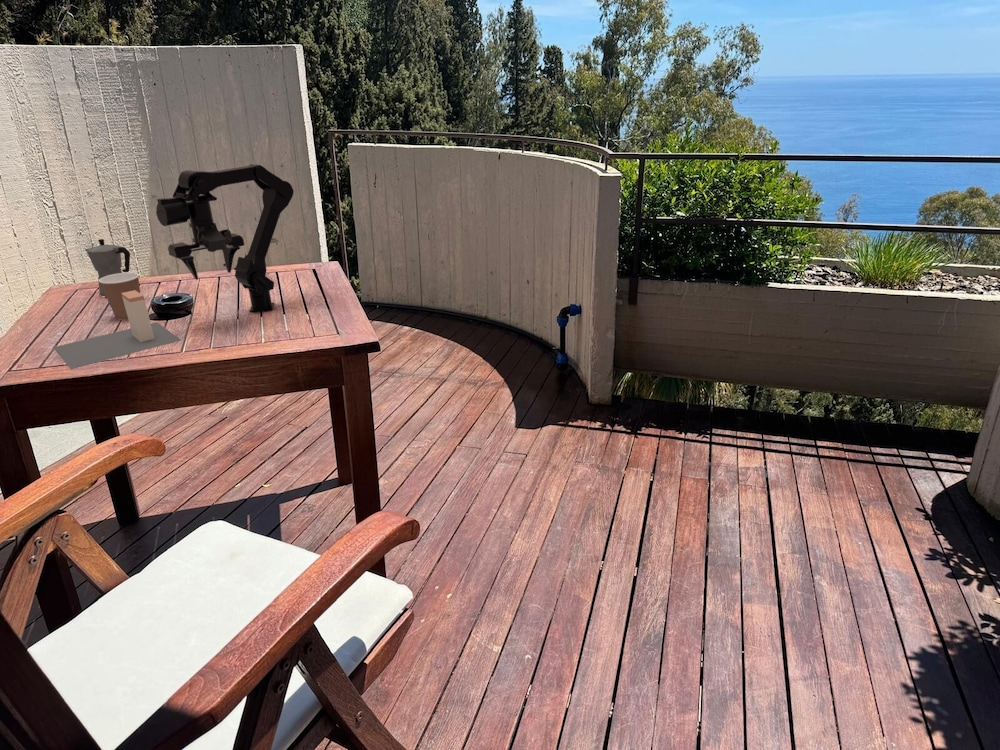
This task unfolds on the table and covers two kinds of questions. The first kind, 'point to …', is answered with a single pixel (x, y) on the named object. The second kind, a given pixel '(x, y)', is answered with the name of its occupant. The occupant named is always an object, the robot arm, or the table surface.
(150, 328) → the tan bar
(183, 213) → the robot arm
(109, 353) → the mat
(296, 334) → the table surface
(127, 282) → the coffee cup
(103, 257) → the coffeepot
